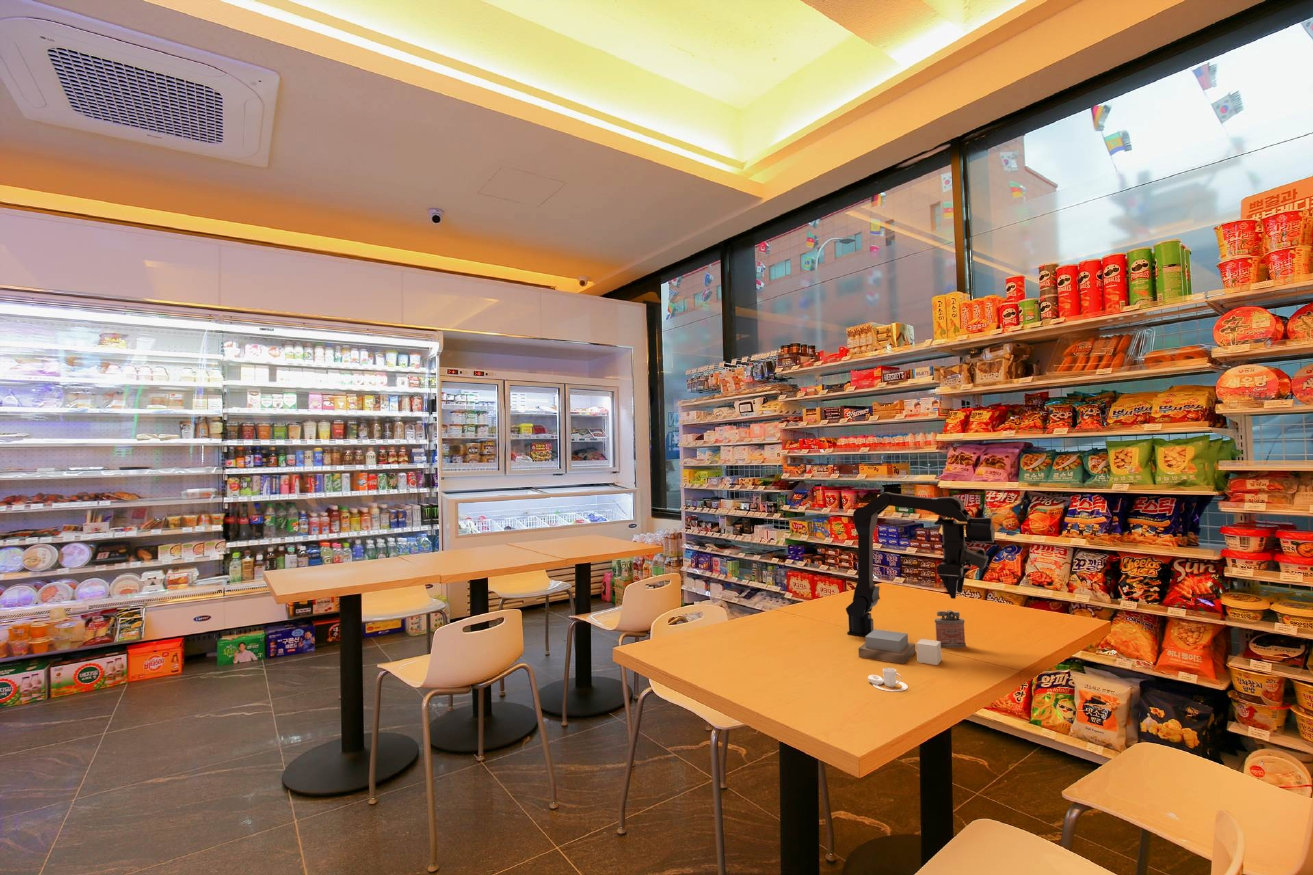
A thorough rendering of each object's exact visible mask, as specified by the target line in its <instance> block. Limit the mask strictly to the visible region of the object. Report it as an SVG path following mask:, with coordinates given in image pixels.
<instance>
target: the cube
mask: <svg viewBox="0 0 1313 875" xmlns="http://www.w3.org/2000/svg"><path fill="white" fill-rule="evenodd" d="M915 647H916V660H917V663H920V664H921V663H922V664H928V665H935V666H938V665H939V664H940V663H941V661H942V647H941V641H936V640H933V639H925V638H920V639H919V640H918V641H917V642H916V643H915Z"/></svg>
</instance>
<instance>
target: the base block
mask: <svg viewBox="0 0 1313 875" xmlns="http://www.w3.org/2000/svg"><path fill="white" fill-rule="evenodd" d="M857 650H858V658H863V659H868V660H869V659H870V660H876V661H881V662H888V663H895V664H902V665H905V664H906V662H908V661H909V660H910V659H911V657H913V656H914V654H916V653H917V649H916V643H914V642H913V643H912V642H908V645H907V646H906V647H905V648H904V649H903V650H902V651H901V652H900V653H898V652H892V651H885V650H878V649H872V648H866V644H865V642H864V643H863V644H862V645H861V646H859V647H858V648H857Z"/></svg>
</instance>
